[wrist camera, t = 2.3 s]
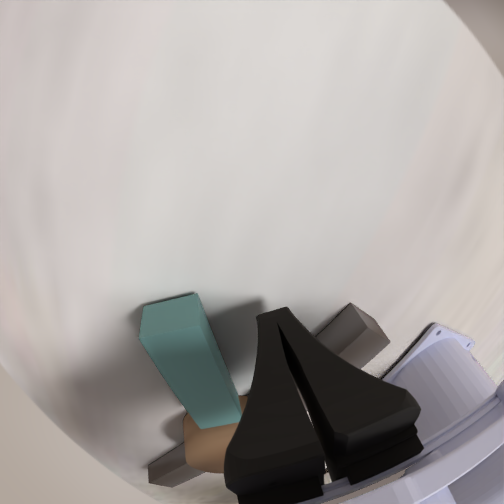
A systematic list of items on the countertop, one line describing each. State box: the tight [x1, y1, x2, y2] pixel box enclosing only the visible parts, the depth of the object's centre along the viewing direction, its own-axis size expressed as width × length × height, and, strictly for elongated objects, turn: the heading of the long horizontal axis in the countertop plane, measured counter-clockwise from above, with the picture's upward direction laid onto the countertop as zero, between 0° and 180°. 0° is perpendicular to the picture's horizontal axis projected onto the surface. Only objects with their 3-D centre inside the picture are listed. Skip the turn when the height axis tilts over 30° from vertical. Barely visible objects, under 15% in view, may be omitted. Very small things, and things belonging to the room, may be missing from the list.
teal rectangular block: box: [139, 293, 242, 429], centre depth 14 cm, size 8×2×2 cm, turn 11°
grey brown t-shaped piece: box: [148, 303, 390, 487], centre depth 19 cm, size 16×24×3 cm, turn 141°
